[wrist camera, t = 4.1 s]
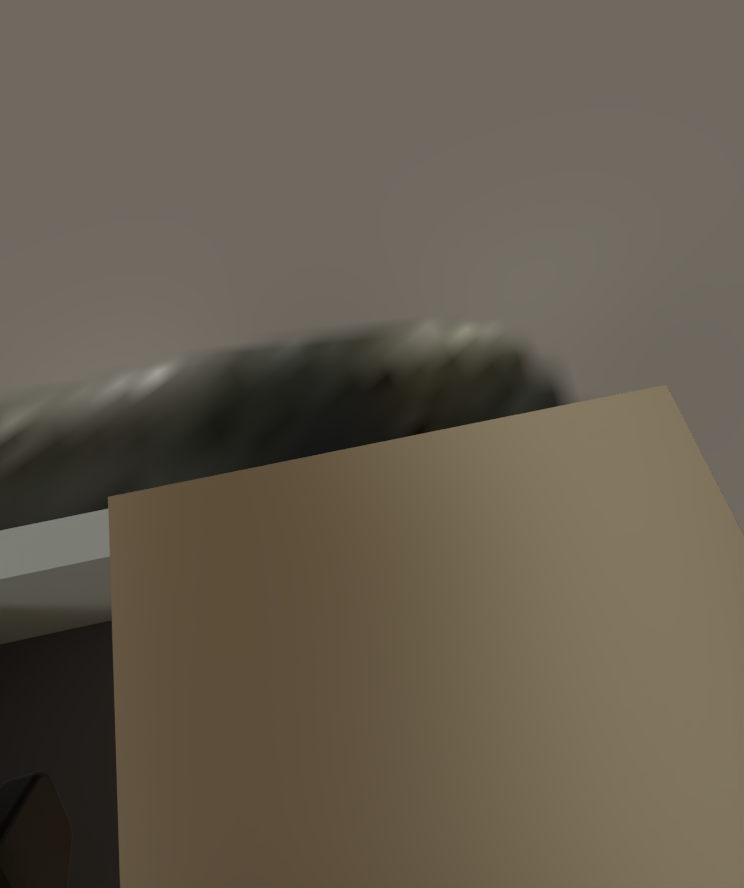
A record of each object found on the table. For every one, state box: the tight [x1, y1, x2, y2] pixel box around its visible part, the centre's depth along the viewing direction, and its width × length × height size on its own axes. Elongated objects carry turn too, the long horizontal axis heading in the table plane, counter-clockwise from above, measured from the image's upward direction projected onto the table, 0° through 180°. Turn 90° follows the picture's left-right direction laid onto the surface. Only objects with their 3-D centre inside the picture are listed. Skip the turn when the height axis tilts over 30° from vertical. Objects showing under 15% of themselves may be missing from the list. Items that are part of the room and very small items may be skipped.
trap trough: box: [0, 509, 120, 888], centre depth 12 cm, size 14×12×4 cm
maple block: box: [108, 385, 744, 888], centre depth 10 cm, size 5×5×11 cm
